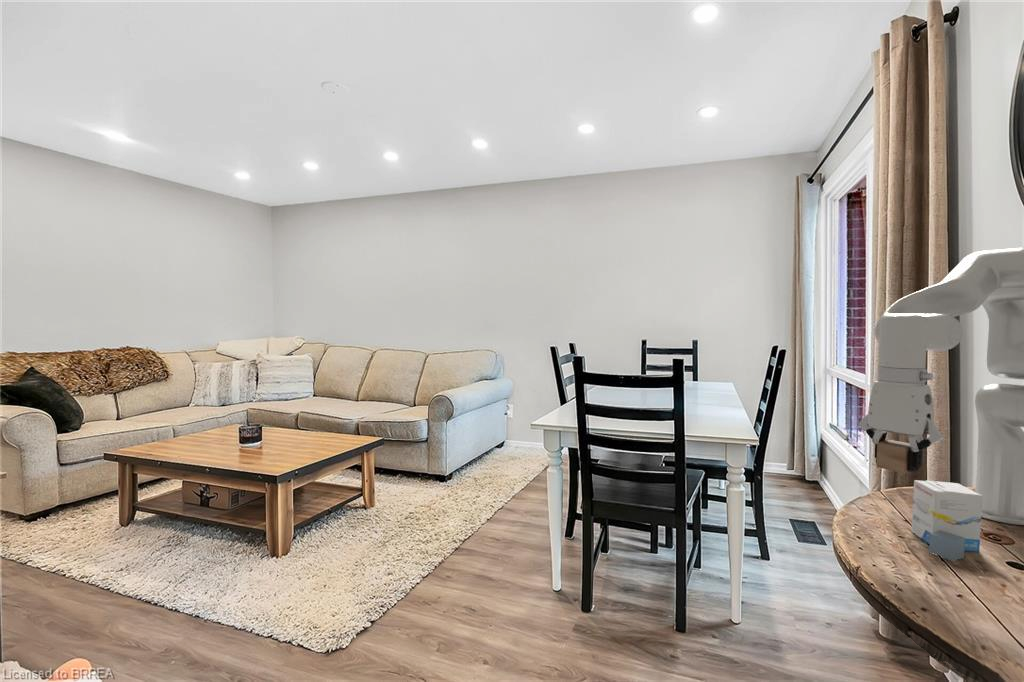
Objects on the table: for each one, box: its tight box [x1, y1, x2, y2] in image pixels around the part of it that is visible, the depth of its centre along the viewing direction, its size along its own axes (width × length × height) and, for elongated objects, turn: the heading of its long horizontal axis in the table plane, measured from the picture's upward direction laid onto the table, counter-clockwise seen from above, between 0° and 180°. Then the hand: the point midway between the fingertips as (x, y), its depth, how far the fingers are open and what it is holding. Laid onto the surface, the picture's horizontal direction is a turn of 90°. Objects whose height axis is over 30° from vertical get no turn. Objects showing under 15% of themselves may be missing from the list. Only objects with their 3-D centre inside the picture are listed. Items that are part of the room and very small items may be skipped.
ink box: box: [911, 479, 982, 553], centre depth 109 cm, size 9×8×12 cm
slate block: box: [928, 530, 965, 562], centre depth 102 cm, size 4×4×4 cm
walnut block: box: [875, 439, 911, 474], centre depth 104 cm, size 5×5×5 cm
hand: (897, 465), depth 104 cm, fingers closed on walnut block, 4 cm apart
